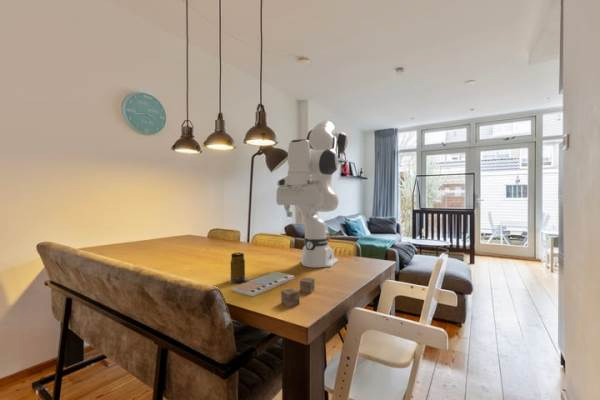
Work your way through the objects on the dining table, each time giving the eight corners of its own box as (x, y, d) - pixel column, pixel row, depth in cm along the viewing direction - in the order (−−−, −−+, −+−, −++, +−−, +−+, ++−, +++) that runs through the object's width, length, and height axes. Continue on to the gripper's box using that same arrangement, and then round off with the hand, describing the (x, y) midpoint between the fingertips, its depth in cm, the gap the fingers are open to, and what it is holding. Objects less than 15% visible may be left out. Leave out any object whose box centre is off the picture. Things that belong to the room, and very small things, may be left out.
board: (275, 274, 133) (275, 271, 133) (294, 278, 127) (294, 275, 127) (232, 290, 111) (232, 287, 111) (252, 296, 105) (252, 292, 105)
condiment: (233, 278, 128) (233, 251, 127) (251, 279, 126) (251, 252, 126) (227, 283, 120) (226, 255, 120) (246, 284, 119) (246, 255, 119)
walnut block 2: (303, 288, 114) (303, 277, 114) (314, 289, 112) (314, 278, 112) (300, 292, 110) (300, 280, 109) (311, 293, 108) (311, 281, 108)
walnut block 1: (292, 300, 101) (292, 287, 101) (299, 304, 98) (299, 291, 98) (281, 303, 99) (281, 290, 99) (288, 307, 95) (288, 294, 95)
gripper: (326, 180, 105) (326, 217, 105) (284, 182, 118) (284, 216, 117) (317, 179, 100) (317, 218, 100) (273, 181, 112) (273, 216, 112)
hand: (299, 217), depth 109 cm, fingers open, 8 cm apart
